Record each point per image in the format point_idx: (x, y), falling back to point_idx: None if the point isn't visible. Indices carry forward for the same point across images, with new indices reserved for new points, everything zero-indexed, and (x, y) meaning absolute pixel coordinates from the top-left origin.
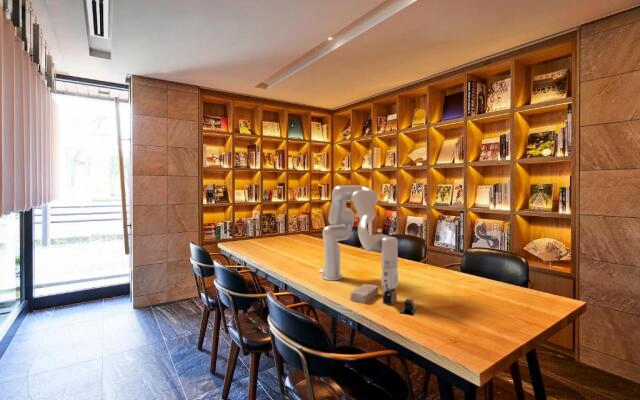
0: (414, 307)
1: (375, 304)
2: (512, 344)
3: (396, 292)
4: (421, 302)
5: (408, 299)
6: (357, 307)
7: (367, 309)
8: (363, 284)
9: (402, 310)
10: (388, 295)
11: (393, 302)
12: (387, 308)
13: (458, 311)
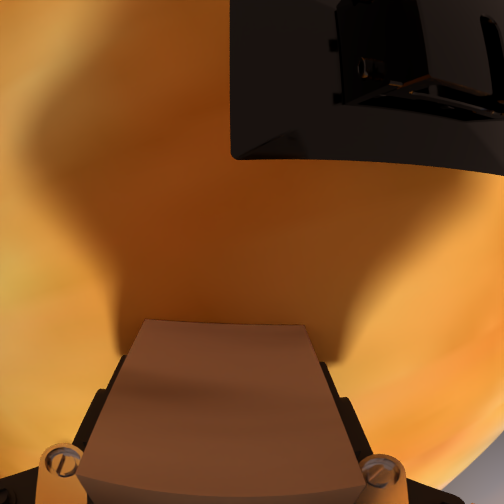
0: (264, 7)
1: None
2: None
3: (100, 419)
4: (23, 18)
5: (434, 32)
6: (432, 478)
7: (463, 431)
8: None
9: (453, 149)
10: (378, 465)
11: (281, 340)
12: (431, 333)
13: None
